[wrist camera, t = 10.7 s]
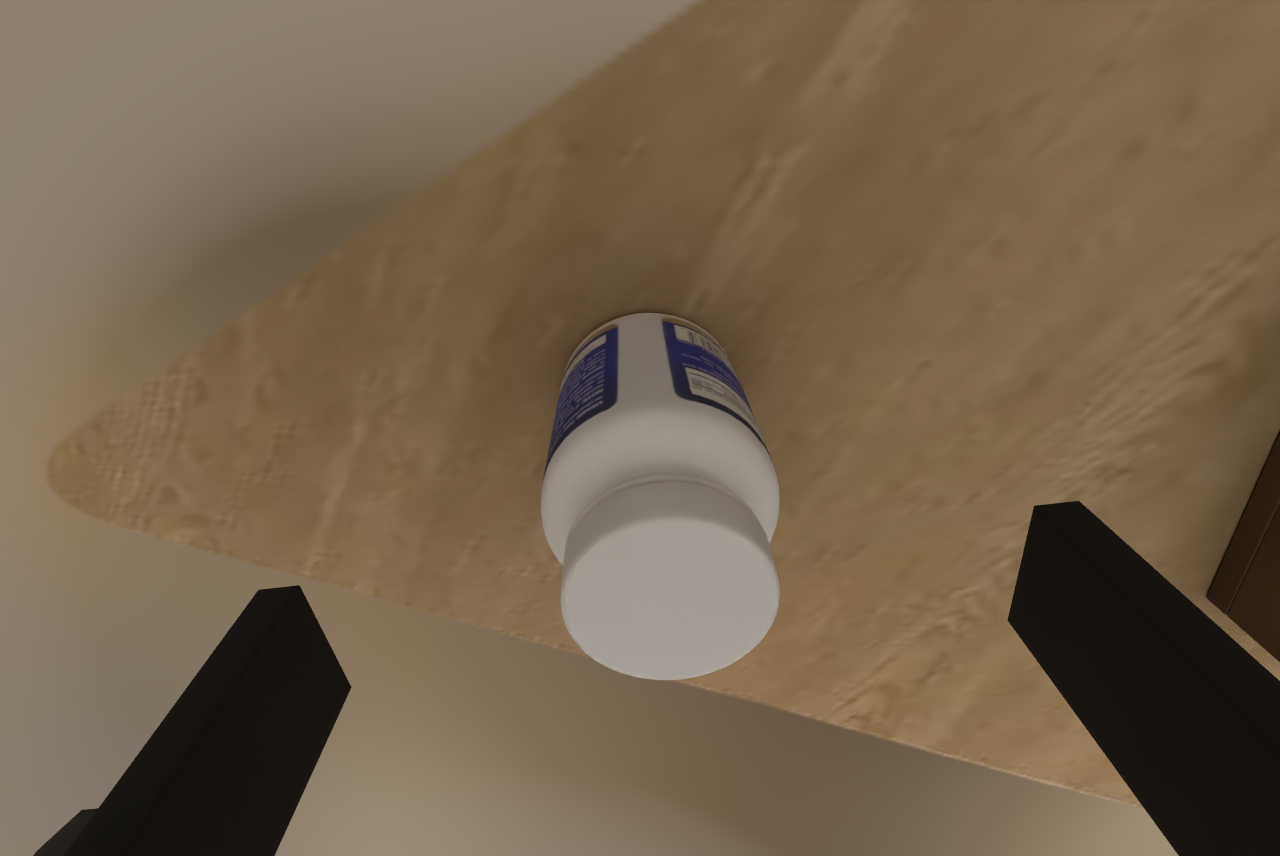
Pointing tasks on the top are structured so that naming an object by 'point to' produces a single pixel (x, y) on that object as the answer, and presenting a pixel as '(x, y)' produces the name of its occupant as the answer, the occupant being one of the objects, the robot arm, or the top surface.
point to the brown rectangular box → (1255, 564)
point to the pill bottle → (660, 502)
